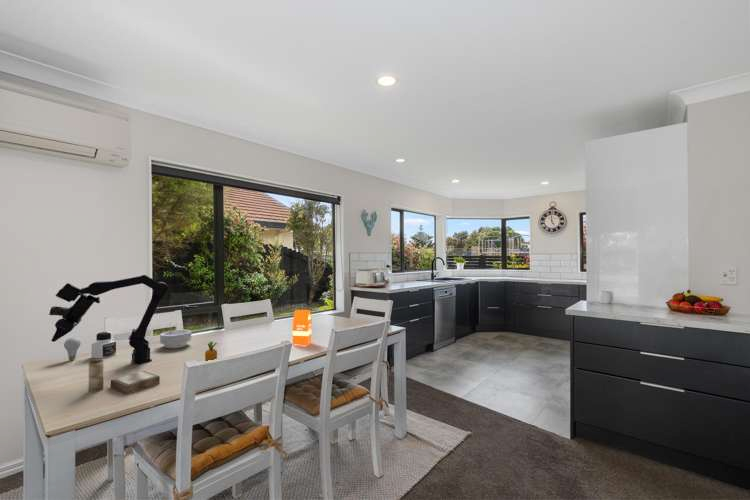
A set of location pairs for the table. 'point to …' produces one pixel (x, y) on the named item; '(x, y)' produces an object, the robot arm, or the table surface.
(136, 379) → the square tray
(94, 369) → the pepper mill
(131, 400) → the table surface
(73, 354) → the lightbulb
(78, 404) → the table surface
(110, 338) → the medicine bottle
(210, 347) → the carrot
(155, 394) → the table surface
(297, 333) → the orange juice
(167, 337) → the paper bowls
